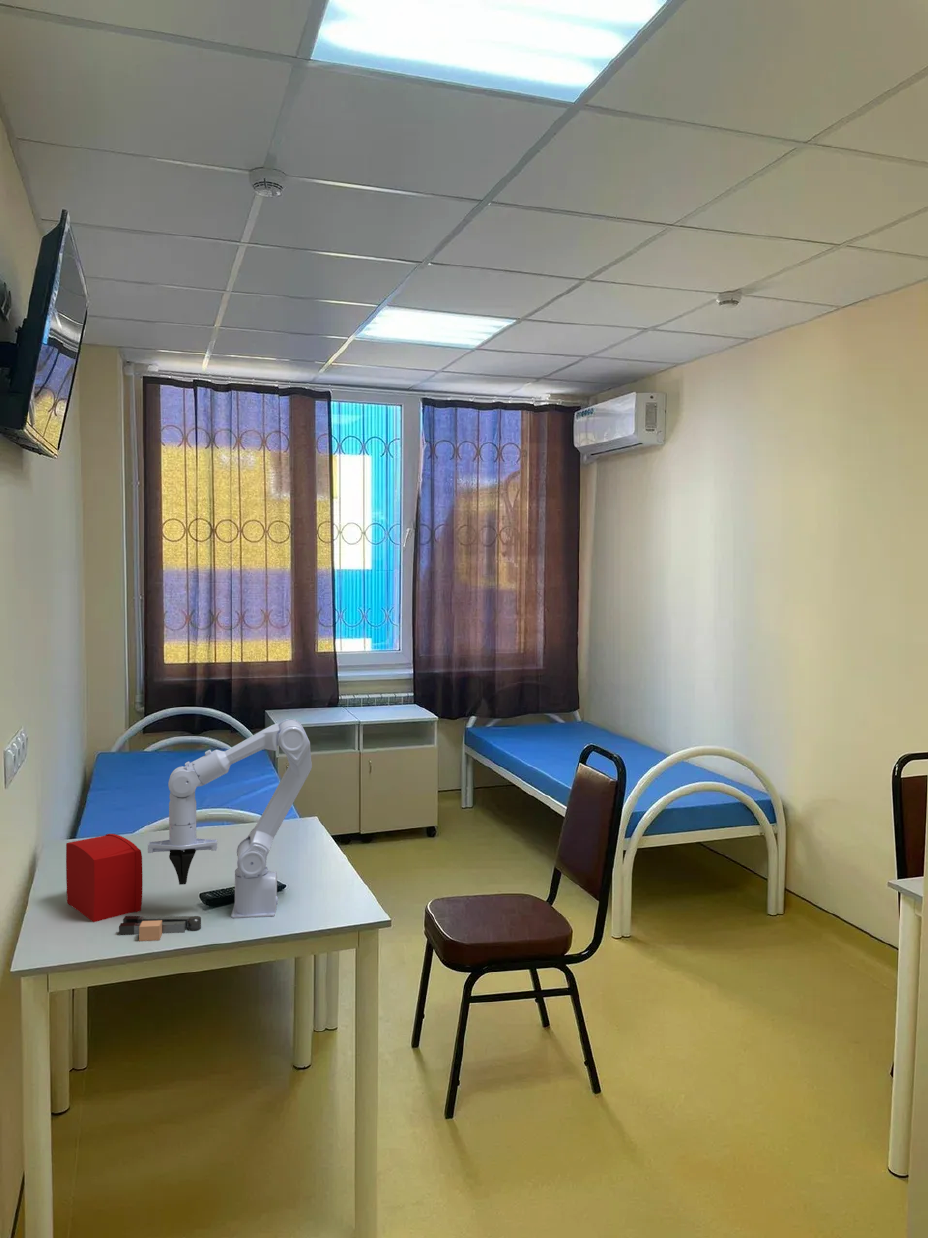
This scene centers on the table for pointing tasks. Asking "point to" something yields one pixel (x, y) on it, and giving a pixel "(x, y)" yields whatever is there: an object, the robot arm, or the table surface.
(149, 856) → the table surface
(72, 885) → the red curved-top box
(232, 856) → the table surface
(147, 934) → the block
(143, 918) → the tongs arm
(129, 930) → the tongs handle
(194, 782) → the robot arm
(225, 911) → the table surface
